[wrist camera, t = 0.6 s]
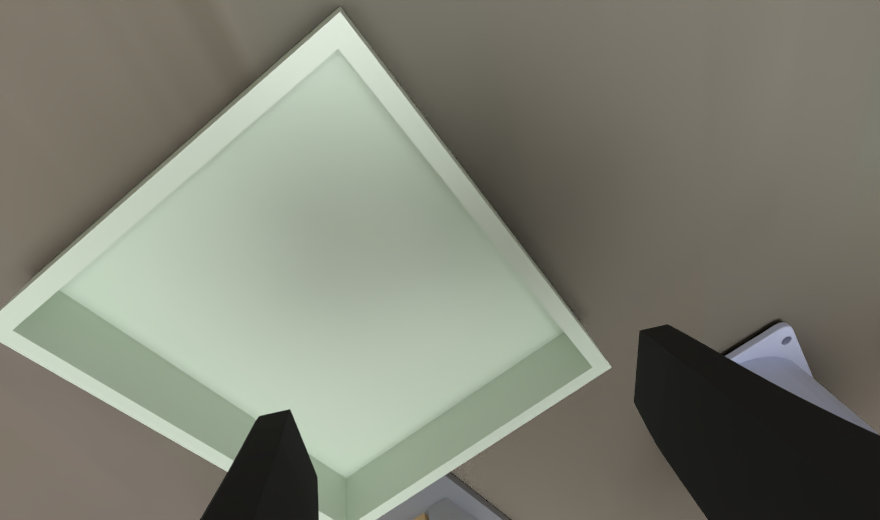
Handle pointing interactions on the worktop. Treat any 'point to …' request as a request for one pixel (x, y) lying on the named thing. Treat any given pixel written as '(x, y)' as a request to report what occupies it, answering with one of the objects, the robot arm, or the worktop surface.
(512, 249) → the parts tray
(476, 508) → the fuse board
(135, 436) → the worktop surface
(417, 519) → the block
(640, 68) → the worktop surface
